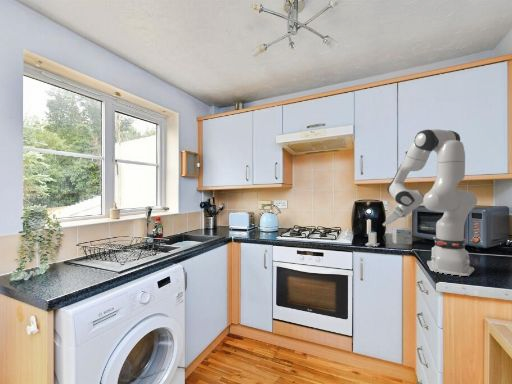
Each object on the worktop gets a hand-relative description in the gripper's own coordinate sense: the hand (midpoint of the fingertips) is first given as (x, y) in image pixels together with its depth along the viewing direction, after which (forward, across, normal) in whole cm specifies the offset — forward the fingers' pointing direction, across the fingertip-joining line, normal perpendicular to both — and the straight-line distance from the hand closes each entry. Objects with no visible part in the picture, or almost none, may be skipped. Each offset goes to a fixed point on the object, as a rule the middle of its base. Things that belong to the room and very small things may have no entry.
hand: (385, 224), depth 168 cm
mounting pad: (+16, 0, +5) cm, 17 cm away
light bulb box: (+6, -17, +16) cm, 24 cm away
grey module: (+16, 0, +4) cm, 16 cm away
